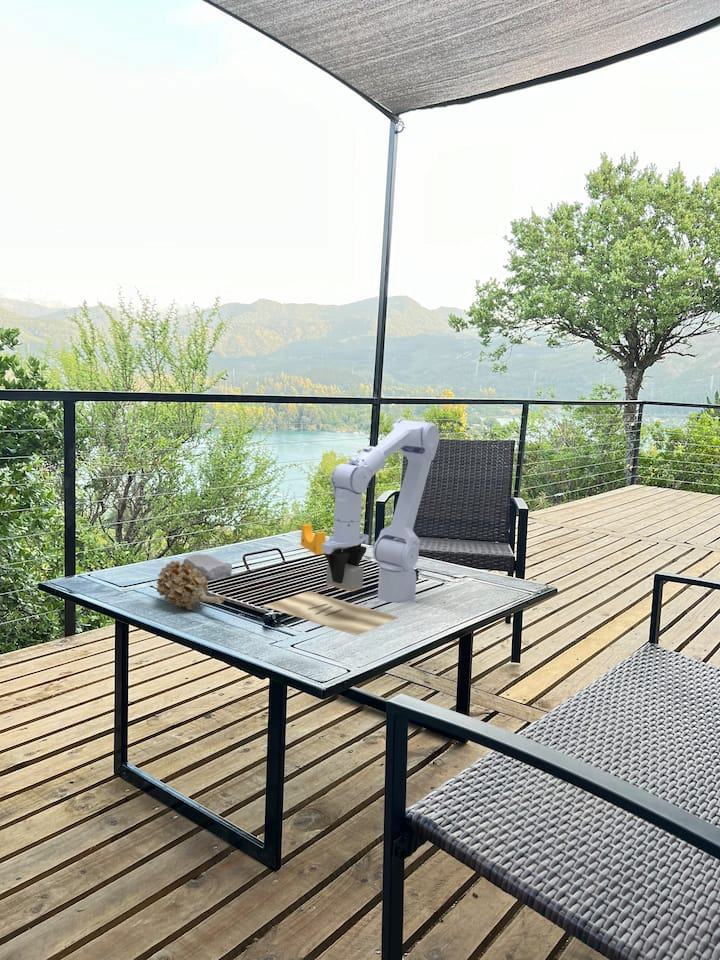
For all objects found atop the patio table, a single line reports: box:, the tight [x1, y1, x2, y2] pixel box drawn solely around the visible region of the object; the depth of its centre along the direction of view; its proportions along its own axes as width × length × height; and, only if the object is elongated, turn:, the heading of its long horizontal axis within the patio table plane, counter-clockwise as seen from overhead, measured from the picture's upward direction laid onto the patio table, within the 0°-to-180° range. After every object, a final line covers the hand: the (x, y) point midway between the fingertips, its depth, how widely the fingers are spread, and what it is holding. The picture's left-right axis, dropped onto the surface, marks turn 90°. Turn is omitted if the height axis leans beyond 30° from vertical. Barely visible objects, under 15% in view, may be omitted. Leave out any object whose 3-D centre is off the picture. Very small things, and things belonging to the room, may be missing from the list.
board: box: [262, 590, 399, 636], centre depth 175 cm, size 16×26×2 cm, turn 54°
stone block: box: [182, 553, 233, 581], centre depth 204 cm, size 12×5×10 cm
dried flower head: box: [156, 560, 226, 611], centre depth 174 cm, size 22×10×10 cm, turn 56°
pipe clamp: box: [300, 523, 327, 555], centre depth 235 cm, size 12×4×6 cm, turn 26°
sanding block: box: [325, 563, 365, 593], centre depth 171 cm, size 4×7×4 cm, turn 54°
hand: (343, 580), depth 172 cm, fingers closed on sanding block, 4 cm apart
